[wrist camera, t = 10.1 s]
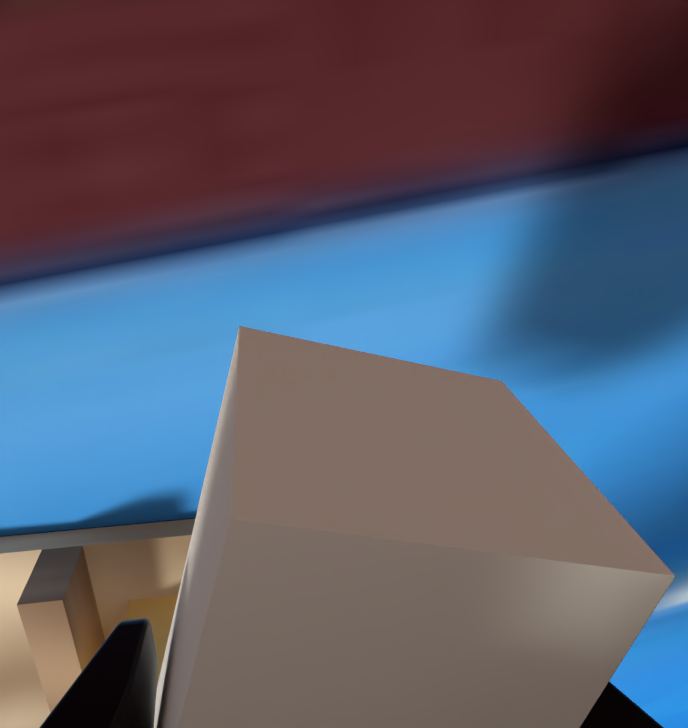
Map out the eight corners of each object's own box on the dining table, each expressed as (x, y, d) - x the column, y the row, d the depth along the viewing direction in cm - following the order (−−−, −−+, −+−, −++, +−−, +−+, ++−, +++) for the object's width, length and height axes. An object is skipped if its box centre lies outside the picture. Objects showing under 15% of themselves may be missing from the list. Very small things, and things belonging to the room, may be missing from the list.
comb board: (321, 748, 25) (329, 825, 23) (-79, 808, 23) (-122, 902, 20) (315, 507, 20) (325, 571, 17) (-206, 556, 18) (-287, 638, 15)
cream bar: (353, 730, 12) (399, 1011, 8) (149, 721, 11) (98, 1036, 7) (501, 381, 9) (675, 575, 5) (239, 326, 8) (230, 518, 4)
